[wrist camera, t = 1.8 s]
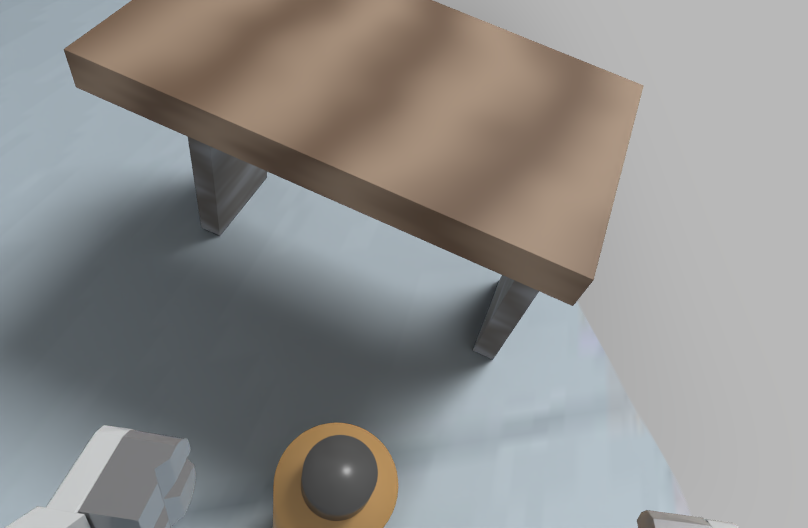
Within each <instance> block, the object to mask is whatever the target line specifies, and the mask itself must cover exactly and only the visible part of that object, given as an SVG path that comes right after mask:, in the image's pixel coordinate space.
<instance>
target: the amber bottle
mask: <svg viewBox="0 0 808 528" xmlns="http://www.w3.org/2000/svg"><path fill="white" fill-rule="evenodd" d="M397 495H398V477H397V471H396V467H395V464H394V462H393V459H392V457H391V455H390V453H389V452H388V450H387V449H386V447H385V446H384V445H383V443H382V442H381V441H380V440H379V439H378V438H376V437H375V436H374V435H373V434H371V433H370V432H368V431H367V430H365V429H363V428H360V427H358V426H355V425H352V424H346V423H327V424H322V425H319V426H316V427H313V428H311V429H309V430H307V431H305V432H304V433H302V434H301V435H299V436H298V437H297V438H296V439H295V440H293V441H292V443H291V444H290V445H289V446H288V447H287V449H286V450H285V451H284V453H283V455H282V456H281V458H280V460H279V463H278V465H277V468H276V472H275V476H274V487H273V528H383V527H384V526H385V524H386V523H387V522H388V520H389V518H390V516H391V514H392V512H393V510H394V507H395V504H396V500H397Z"/></svg>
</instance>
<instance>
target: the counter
mask: <svg viewBox="0 0 808 528" xmlns="http://www.w3.org/2000/svg"><path fill="white" fill-rule="evenodd" d="M64 52H65V55H66V58H67V61H68V64H69V67H70V70H71V73H72V76H73V80H74V83H75V86H76V87H77V88H79V89H81V90H84V91H86V92H88V93H90V94H93V95H95V96H97V97H99V98H102V99H104V100H106V101H109V102H111V103H113V104H115V105H118V106H120V107H122V108H124V109H127V110H129V111H131V112H134V113H136V114H138V115H140V116H143V117H145V118H147V119H149V120H152V121H154V122H156V123H158V124H161V125H163V126H165V127H168V128H170V129H172V130H174V131H177V132H179V133H181V134H183V135H186V136H188V141H189V148H190V155H191V162H192V168H193V175H194V182H195V188H196V195H197V202H198V209H199V215H200V222H201V227H202V228H204V229H206V230H208V231H210V232H213V233H215V234H217V235H219V236H220V235H221V234H222V233H223V231H224V230H225V229H226V228H227V226H228V225H229V224H230V223H231V221H232V220H233V219H234V218H235V216H236V215H237V214H238V213H239V211H240V210H241V209H242V208H243V206H244V205H245V204H246V203H247V201H248V200H249V199H250V198H251V197H252V195H253V194H254V193H255V192H256V190H257V189H258V188H259V187H260V185H261V184H262V183H263V182H264V180H265V179H266V178H267V172H270V173H272V174H274V175H277V176H279V177H281V178H283V179H286V180H288V181H290V182H292V183H295V184H297V185H299V186H302V187H304V188H306V189H308V190H311V191H313V192H315V193H317V194H320V195H322V196H324V197H327V198H329V199H331V200H333V201H336V202H338V203H340V204H342V205H345V206H347V207H349V208H352V209H354V210H356V211H358V212H361V213H363V214H365V215H367V216H370V217H372V218H374V219H376V220H379V221H381V222H383V223H386V224H388V225H390V226H392V227H395V228H397V229H399V230H401V231H404V232H406V233H408V234H411V235H413V236H415V237H417V238H420V239H422V240H424V241H426V242H429V243H431V244H433V245H436V246H438V247H440V248H442V249H445V250H447V251H449V252H451V253H454V254H456V255H458V256H461V257H463V258H465V259H467V260H470V261H472V262H474V263H476V264H479V265H481V266H483V267H486V268H488V269H490V270H492V271H495V272H497V273H499V274H501V275H502V276H501V278H500V280H499V283H498V285H497V288H496V290H495V293H494V296H493V298H492V301H491V304H490V306H489V309H488V311H487V314H486V317H485V319H484V322H483V325H482V327H481V330H480V332H479V335H478V338H477V340H476V343H475V345H474V348H473V351H475V352H477V353H479V354H481V355H484V356H486V357H488V358H490V359H492V360H493V359H494V357H495V356H496V354H497V353H498V351H499V350H500V348H501V347H502V345H503V344H504V342H505V341H506V339H507V338H508V337H509V335H510V334H511V332H512V331H513V329H514V328H515V326H516V325H517V323H518V322H519V320H520V319H521V317H522V316H523V314H524V313H525V311H526V310H527V308H528V307H529V305H530V304H531V302H532V301H533V300H534V298H535V297H536V295H537V294H538V292H539V291H540V292H542V293H545V294H547V295H549V296H551V297H554V298H556V299H558V300H560V301H563V302H565V303H567V304H570V305H572V306H573V305H574V304H575V303H576V301H577V300H578V299H579V298H580V296H581V295H582V294H583V293H584V291H585V290H586V289H587V288H588V286H589V285H590V284H591V283H592V281H593V280H594V276H595V272H596V268H597V265H598V261H599V257H600V253H601V249H602V245H603V241H604V237H605V234H606V230H607V226H608V221H609V218H610V214H611V210H612V206H613V202H614V198H615V194H616V190H617V187H618V182H619V179H620V175H621V171H622V167H623V163H624V160H625V156H626V151H627V148H628V144H629V140H630V136H631V132H632V128H633V124H634V120H635V116H636V113H637V109H638V105H639V101H640V97H641V93H642V89H643V85H641V84H638V83H636V82H633V81H631V80H628V79H626V78H623V77H621V76H619V75H616V74H613V73H611V72H608V71H606V70H604V69H601V68H599V67H596V66H594V65H591V64H589V63H586V62H584V61H581V60H579V59H576V58H574V57H571V56H569V55H566V54H564V53H561V52H559V51H556V50H554V49H552V48H549V47H547V46H544V45H542V44H539V43H537V42H534V41H532V40H529V39H527V38H524V37H522V36H519V35H517V34H514V33H512V32H509V31H507V30H504V29H502V28H500V27H497V26H494V25H492V24H490V23H487V22H485V21H482V20H479V19H477V18H474V17H472V16H470V15H467V14H465V13H462V12H460V11H457V10H455V9H452V8H450V7H447V6H445V5H442V4H440V3H437V2H435V1H432V0H132V1H130V2H129V3H127V4H126V5H125V6H123V7H122V8H121V9H119V10H118V11H116V12H115V13H114V14H112V15H111V16H109V17H108V18H107V19H105V20H104V21H102V22H101V23H100V24H98V25H97V26H95V27H94V28H93V29H91V30H90V31H89V32H87V33H86V34H84V35H83V36H82V37H80V38H79V39H77V40H76V41H75V42H73V43H72V44H70V45H69V46H68V47H66V48H65V49H64Z"/></svg>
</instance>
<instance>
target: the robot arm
mask: <svg viewBox="0 0 808 528" xmlns="http://www.w3.org/2000/svg"><path fill="white" fill-rule="evenodd" d="M190 451H191V448H190V445H189V441H188V439H186V438H180V437H174V436H168V435H161V434H155V433H149V432H143V431H136V430H133V429H127V428H120V427H114V426H107V425H103V426H102V427H101V428H100V429H99V430H98V431H96V432H95V433H94V434H93V436H92V437H91V439H90V441H89V442H88V444H87V445H86V447H85V448H84V450H83V451H82V453H81V454H80V456H79V457H78V459H77V460H76V462H75V463H74V465H73V466H72V468H71V470H70V471H69V473H68V474H67V476H66V477H65V479H64V480H63V482H62V483H61V485H60V486H59V488H58V489H57V491H56V492H55V494H54V495H53V497H52V498H51V500H50V502H49V503H48V505H47V506H46V507H39V506H37V507H36V508H34V509H33V510H31V511H30V512H28V513H26V514H25V515H23V516H22V517H20V518H19V519H17V520H16V521H14V522H13V523H11V524H10V525H8V526H7V527H5V528H171V526H172V525H173V524H175V523H176V522H177V521H179V520H180V519H181V518H183V517H184V516H185V514H186V512H187V509H188V507H189V505H190V502H191V499H192V495H193V491H194V487H195V480H196V472H195V466H194V464H193V463H192V462H191V461H189V460H188V459H187V457H188V455H189V453H190ZM637 523H638V528H739V527H738V526H737V525H736V524H733V523H730V522H723V521H716V520H709V519H703V518H700V517H693V516H686V515H679V514H672V513H664V512H657V511H650V510H646V511H643V512H642V513H641V514H640V516H639V517H638V519H637Z"/></svg>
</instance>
